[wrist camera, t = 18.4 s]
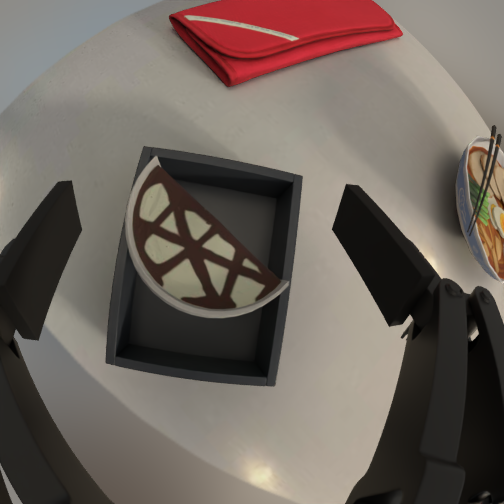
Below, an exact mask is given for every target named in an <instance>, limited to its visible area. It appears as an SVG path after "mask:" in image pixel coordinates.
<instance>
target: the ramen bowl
mask: <svg viewBox="0 0 504 504" xmlns="http://www.w3.org/2000/svg"><path fill="white" fill-rule="evenodd" d="M495 133H496V126H495V125H494V126H492V131H491V139H489V138H486V137H481V136H476V137H475V138H474V139H473V140H472V141H471V142H470V143H469V144H468V146H467V147H466V149H465V151H464V153H463V155H462V158H461V160H460V164H459V168H458V174H457V179H456V185H455V188H456V204H457V213H458V217H459V221H460V225H461V230H462V233H463V235H464V237H465V240H466V242H467V244H468V247H469V249H470V252H471V254H472V255H473V256H474V258H475V259H476V260H477V261H478V263H479V264H480V265H481V266H482V268H483V269H484V270H485V271H486V272H487V273H488V274H489V275H490V276H492V277H493V278H494V279H496V280H498V281H499V282H501V283H504V153H503V152H502V150H501V149H500V148H499V147H500V142H501V138H502V136H501V134H498V135H497V141H496V144H494V139H495Z"/></svg>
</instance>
